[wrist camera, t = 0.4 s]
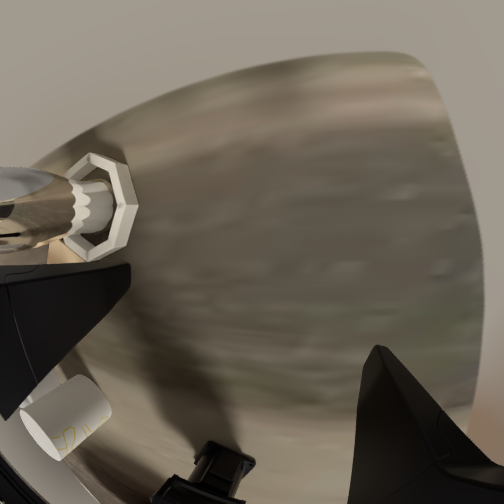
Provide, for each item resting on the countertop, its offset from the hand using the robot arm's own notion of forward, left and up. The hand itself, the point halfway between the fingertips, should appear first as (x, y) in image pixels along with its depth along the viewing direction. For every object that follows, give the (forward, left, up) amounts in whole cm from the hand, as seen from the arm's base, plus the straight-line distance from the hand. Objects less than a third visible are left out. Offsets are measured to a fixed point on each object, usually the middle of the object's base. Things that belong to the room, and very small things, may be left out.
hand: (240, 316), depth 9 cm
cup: (-32, +16, -14) cm, 39 cm away
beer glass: (-4, +20, -14) cm, 25 cm away
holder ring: (-4, +20, -14) cm, 25 cm away
